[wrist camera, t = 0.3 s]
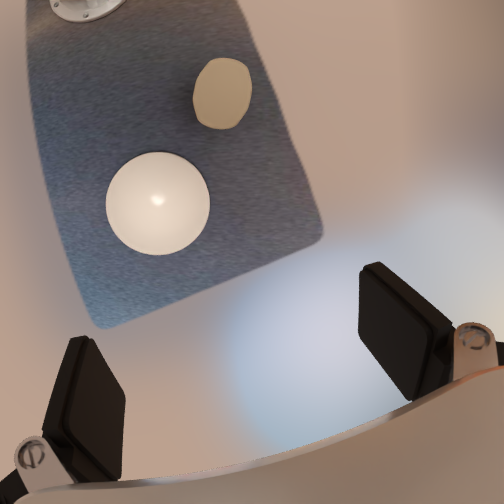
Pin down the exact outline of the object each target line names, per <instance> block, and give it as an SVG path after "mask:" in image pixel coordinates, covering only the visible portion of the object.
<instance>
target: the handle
mask: <svg viewBox="0 0 504 504" xmlns="http://www.w3.org/2000/svg"><path fill="white" fill-rule="evenodd" d="M251 93H252V83H251V79H250V75H249V71H248V68H247V67H246V66H245V65H244V64H242V63H241V62H239V61H237V60H234V59H229V58H217V59H214V60H211V61H210V62H209V63H208V64H207V65H206V66H205V68H204V69H203V70H202V72H201V73H200V74H199V76H198V78H197V80H196V83H195V88H194V93H193V105H194V109H195V113H196V116H197V119H198V121H200V122H201V123H202V124H204V125H205V126H208V127H211V128H215V129H228V128H232V127H234V126H236V125H237V123H238V122H239V121H240V120H241V118H242V117H243V115H244V114H245V113H246V111H247V109H248V106H249V103H250V98H251Z"/></svg>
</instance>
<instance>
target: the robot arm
mask: <svg viewBox="0 0 504 504" xmlns="http://www.w3.org/2000/svg"><path fill="white" fill-rule="evenodd" d="M125 1H126V0H50V5H51V8H52V9H53V11H54V12H55V13H56V14H57V15H58V16H59V17H61V18H62V19H64V20H66V21H69V22H75V23H83V22H89V21H94V20H97V19H99V18H102V17H104V16H106V15H108V14H110V13H111V12H113V11H114V10H116V9H117V8H118V7H119V6H121V5H122V4H123V3H124V2H125ZM58 5H59V6H58ZM57 6H58V7H57ZM86 16H88V17H87V18H86ZM358 333H359V337H360V339H361V340H362V342H363V343H364V344H365V345H366V347H367V348H368V349H369V351H370V352H371V353H372V355H373V356H374V357H375V359H376V360H377V361H378V363H379V364H380V365H381V366H382V368H383V369H384V370H385V372H386V373H387V374H388V376H389V377H390V378H391V380H392V381H393V382H394V384H395V385H396V386H397V388H398V389H399V390H400V391H401V393H402V394H403V396H404V397H405V398H406V399H407V400H408V401H411V400H412V402H411V403H409V404H407V405H405V406H403V407H400V408H398V409H396V410H394V411H392V412H390V413H388V414H385V415H383V416H381V417H379V418H376V419H374V420H372V421H369V422H367V423H365V424H362V425H360V426H357V427H355V428H353V429H350V430H347V431H345V432H342V433H339V434H337V435H334V436H331V437H329V438H326V439H323V440H320V441H317V442H314V443H311V444H308V445H305V446H302V447H299V448H296V449H292V450H289V451H286V452H282V453H279V454H275V455H272V456H268V457H265V458H261V459H257V460H253V461H249V462H245V463H240V464H236V465H231V466H226V467H222V468H217V469H211V470H206V471H201V472H195V473H188V474H182V475H175V476H167V477H159V478H149V479H139V480H128V481H118V479H120V478H121V474H122V473H121V472H122V446H123V445H122V444H123V428H124V413H125V402H126V400H125V394H124V392H123V390H122V388H121V387H120V385H119V383H118V382H117V380H116V378H115V377H114V375H113V373H112V372H111V370H110V368H109V367H108V365H107V363H106V361H105V359H104V358H103V356H102V354H101V352H100V351H99V349H98V347H97V345H96V343H95V341H94V340H93V339H89V338H88V337H87V336H79V337H74V338H71V339H70V341H69V344H68V346H67V349H66V352H65V355H64V358H63V360H62V363H61V366H60V369H59V372H58V375H57V378H56V382H55V385H54V388H53V391H52V394H51V398H50V401H49V405H48V408H47V412H46V415H45V419H44V423H43V426H42V430H43V435H42V437H40V436H32V437H28V438H26V439H25V440H23V441H22V442H21V443H20V444H19V446H18V447H17V449H16V451H15V454H14V462H15V466H16V469H15V470H14V471H13V472H11V473H10V474H9V475H8V476H7V477H5V478H4V479H3V480H2V481H1V482H0V504H504V342H497V341H495V337H494V334H493V333H492V331H491V330H490V329H489V328H487V327H486V326H484V325H482V324H480V323H474V322H469V323H464V324H461V325H460V326H458V327H457V329H455V328H454V327H453V326H452V322H451V321H450V320H449V319H448V318H447V317H446V316H444V315H443V314H442V313H441V312H440V311H439V310H438V309H436V308H435V307H434V306H433V305H432V304H431V303H430V302H428V301H427V300H426V299H425V298H424V297H422V296H421V295H420V294H419V293H418V292H417V291H415V290H414V289H413V288H412V287H411V286H409V285H408V284H407V283H406V282H405V281H403V280H402V279H401V278H400V277H398V276H397V275H396V274H395V273H394V272H392V271H391V270H390V269H389V268H387V267H386V266H385V265H384V264H382V263H381V262H375V263H372V264H368V265H365V266H364V267H363V270H362V271H360V273H359V318H358Z"/></svg>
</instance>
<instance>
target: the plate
mask: <svg viewBox="0 0 504 504" xmlns="http://www.w3.org/2000/svg"><path fill="white" fill-rule="evenodd" d="M209 209H210V199H209V193H208V189H207V186H206V183H205V181H204V179H203V177H202V175H201V174H200V172H199V171H198V170H197V169H196V167H195V166H194V165H192V164H191V163H190V162H189V161H187V160H186V159H184V158H183V157H180V156H178V155H176V154H172V153H168V152H149V153H145V154H142V155H139V156H137V157H135V158H133V159H132V160H130V161H129V162H127V163H126V164H125V165H124V166H123V167H122V168H121V169H120V170H119V171H118V172H117V173H116V175H115V176H114V178H113V179H112V181H111V183H110V186H109V188H108V192H107V196H106V212H107V217H108V220H109V223H110V225H111V227H112V229H113V231H114V232H115V234H116V235H117V236H118V238H119V239H120V240H121V241H122V242H123V243H125V244H126V245H127V246H129V247H130V248H132V249H134V250H136V251H139V252H141V253H145V254H150V255H165V254H170V253H174V252H176V251H179V250H181V249H183V248H185V247H186V246H188V245H189V244H190V243H192V242H193V241H194V240H195V239H196V238H197V237H198V235H199V234H200V233H201V231H202V230H203V228H204V226H205V224H206V221H207V219H208V215H209Z"/></svg>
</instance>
